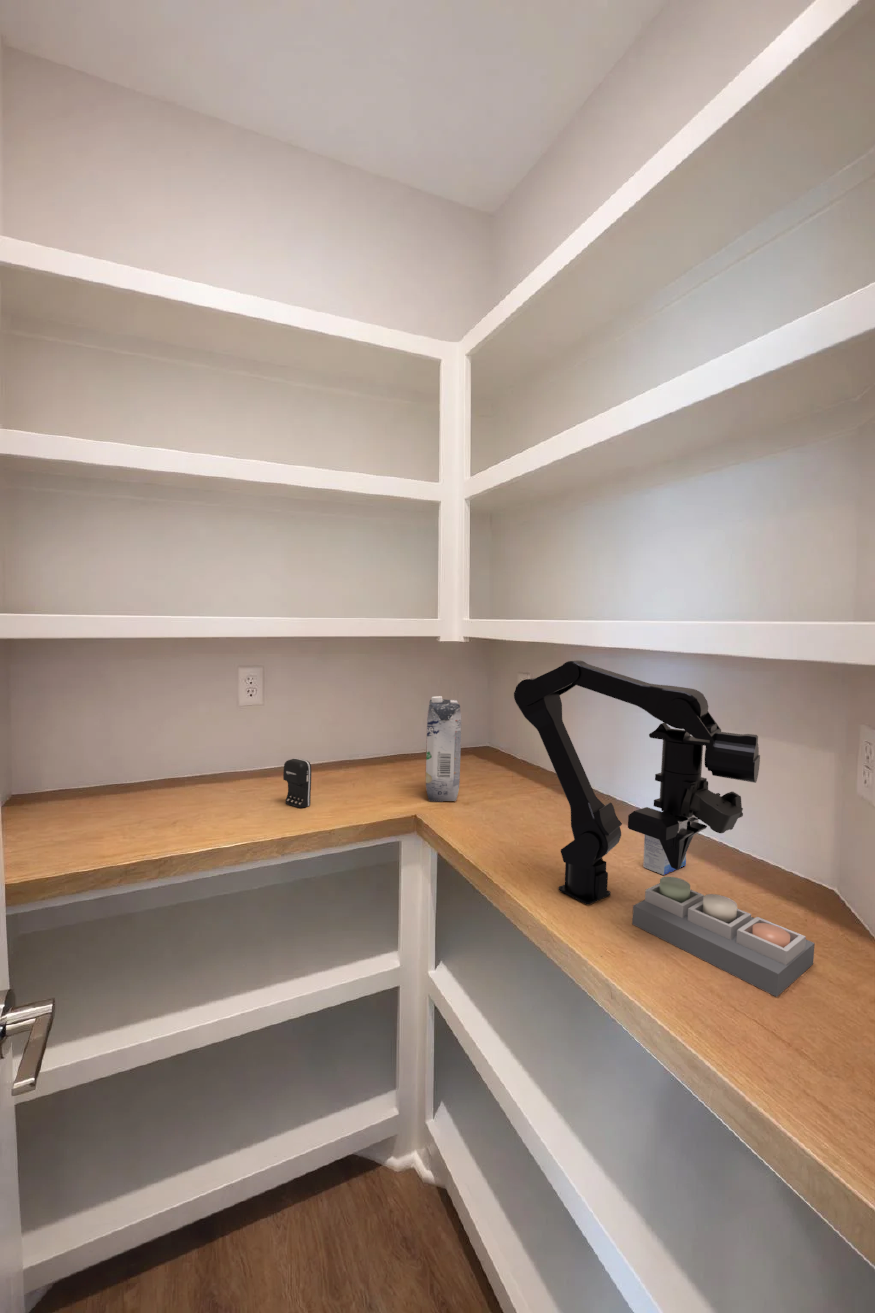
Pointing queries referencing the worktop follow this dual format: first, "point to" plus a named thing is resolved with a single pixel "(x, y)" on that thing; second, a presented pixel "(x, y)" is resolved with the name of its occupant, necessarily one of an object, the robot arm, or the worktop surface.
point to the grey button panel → (725, 940)
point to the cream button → (720, 907)
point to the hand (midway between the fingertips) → (675, 868)
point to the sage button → (675, 888)
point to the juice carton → (443, 749)
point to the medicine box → (657, 857)
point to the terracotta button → (771, 934)
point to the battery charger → (298, 782)
